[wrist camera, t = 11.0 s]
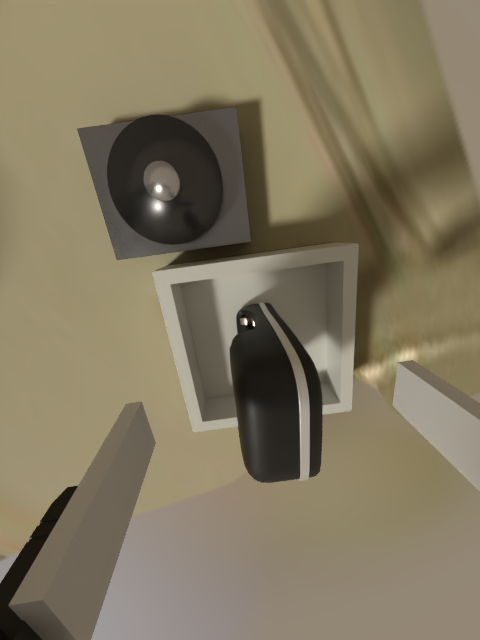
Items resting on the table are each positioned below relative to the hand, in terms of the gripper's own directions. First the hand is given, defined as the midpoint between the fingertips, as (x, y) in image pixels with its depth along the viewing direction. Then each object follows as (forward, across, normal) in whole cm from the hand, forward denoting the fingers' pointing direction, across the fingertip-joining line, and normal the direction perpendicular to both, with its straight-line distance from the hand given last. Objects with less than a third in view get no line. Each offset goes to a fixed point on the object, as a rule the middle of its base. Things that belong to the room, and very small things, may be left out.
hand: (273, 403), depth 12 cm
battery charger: (+9, 0, 0) cm, 9 cm away
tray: (+10, +1, 0) cm, 10 cm away
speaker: (+10, -4, +12) cm, 16 cm away
